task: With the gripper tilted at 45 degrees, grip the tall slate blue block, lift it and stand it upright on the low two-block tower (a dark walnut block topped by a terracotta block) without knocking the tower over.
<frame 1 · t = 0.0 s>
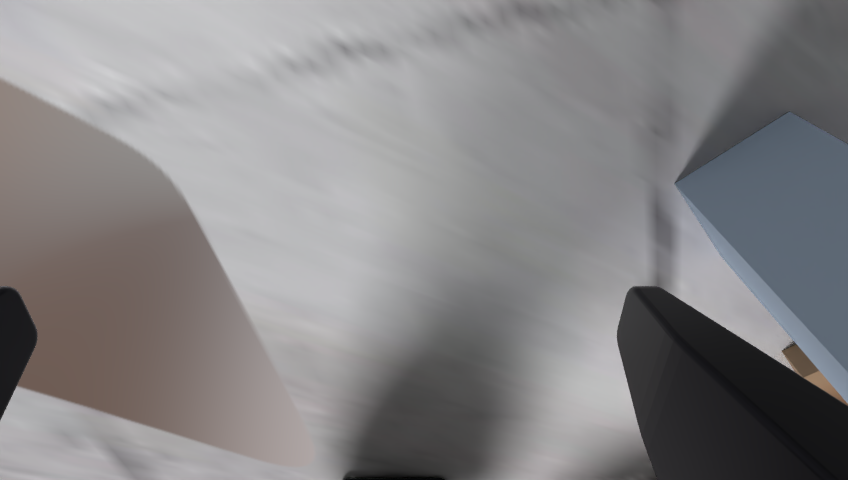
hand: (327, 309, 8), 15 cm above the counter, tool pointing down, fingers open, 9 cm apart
slate blue block: (753, 190, 24), on the counter
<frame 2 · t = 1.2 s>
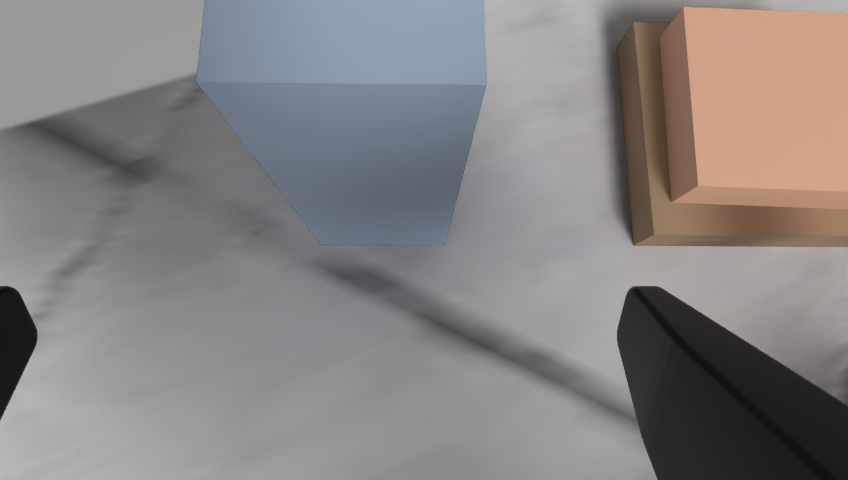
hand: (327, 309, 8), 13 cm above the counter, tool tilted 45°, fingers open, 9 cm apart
terracotta block: (753, 120, 22), point 2 cm above the counter
slate blue block: (384, 186, 23), on the counter
walnut block: (721, 148, 24), on the counter
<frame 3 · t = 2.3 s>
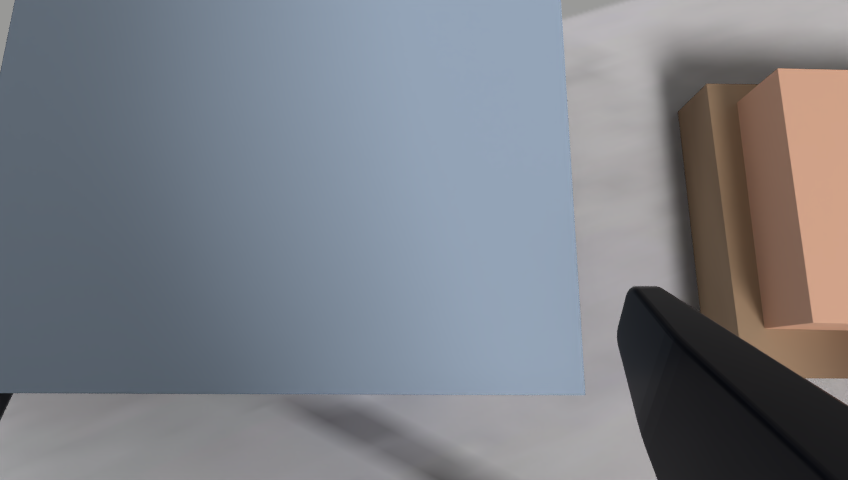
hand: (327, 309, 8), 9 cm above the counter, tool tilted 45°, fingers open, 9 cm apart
slate blue block: (380, 295, 17), on the counter
walnut block: (814, 241, 19), on the counter, touching terracotta block
when the fingers open (12 cm above the counter, at t = 8.3 s): slate blue block drops 1 cm, resting on terracotta block.
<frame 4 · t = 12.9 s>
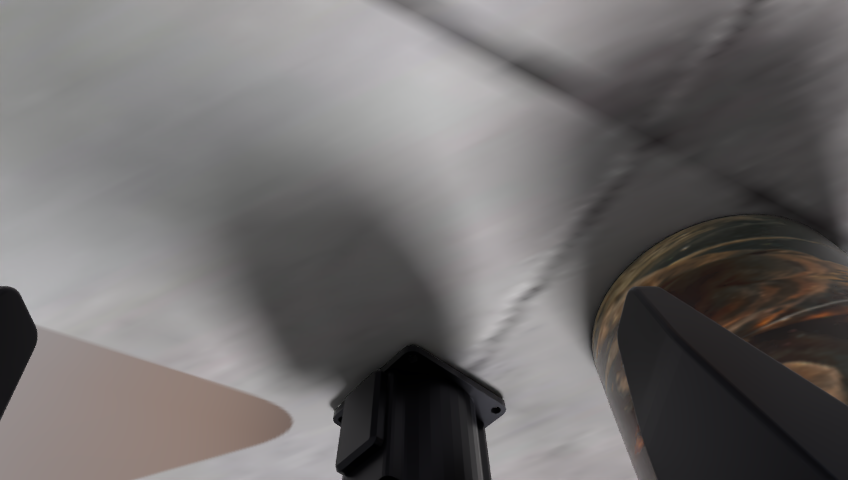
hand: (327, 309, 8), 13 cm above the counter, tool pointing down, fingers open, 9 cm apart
jar: (711, 321, 26), on the counter
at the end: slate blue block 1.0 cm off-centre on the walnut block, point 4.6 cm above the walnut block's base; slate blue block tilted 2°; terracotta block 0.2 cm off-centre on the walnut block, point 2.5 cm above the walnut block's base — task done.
